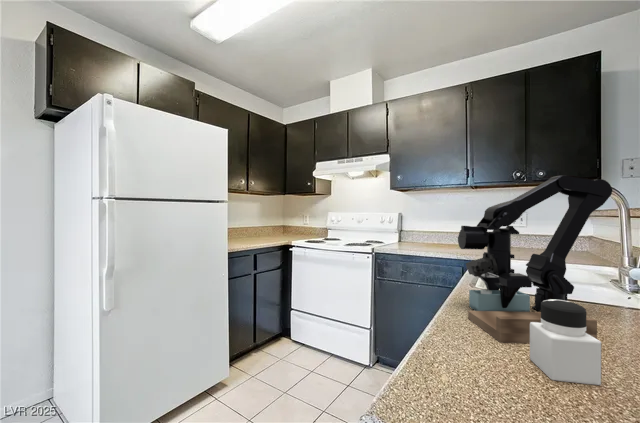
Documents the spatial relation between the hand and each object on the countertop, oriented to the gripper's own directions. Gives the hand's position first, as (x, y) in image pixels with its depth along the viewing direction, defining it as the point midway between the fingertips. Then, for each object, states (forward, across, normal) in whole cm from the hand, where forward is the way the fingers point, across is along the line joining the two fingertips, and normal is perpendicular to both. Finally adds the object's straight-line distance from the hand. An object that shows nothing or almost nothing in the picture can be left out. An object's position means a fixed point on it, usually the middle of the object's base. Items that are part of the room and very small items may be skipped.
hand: (498, 304), depth 82 cm
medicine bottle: (+2, +32, -8) cm, 33 cm away
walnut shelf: (+2, +14, -2) cm, 14 cm away
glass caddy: (+2, 0, 0) cm, 2 cm away
